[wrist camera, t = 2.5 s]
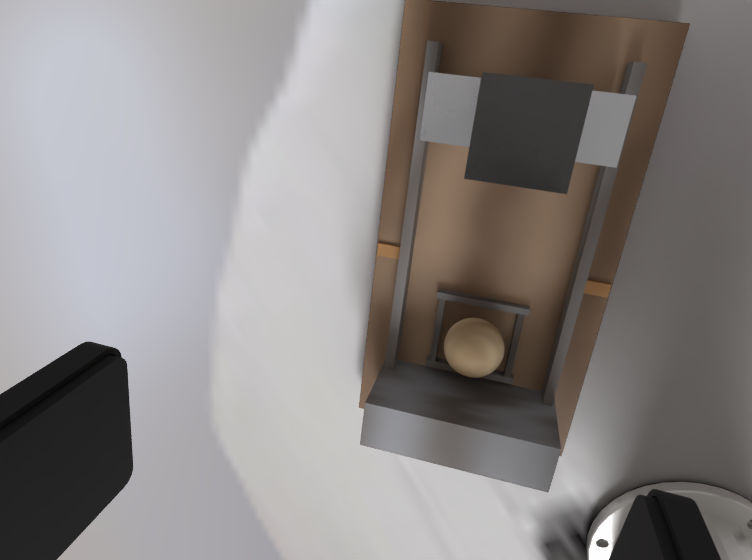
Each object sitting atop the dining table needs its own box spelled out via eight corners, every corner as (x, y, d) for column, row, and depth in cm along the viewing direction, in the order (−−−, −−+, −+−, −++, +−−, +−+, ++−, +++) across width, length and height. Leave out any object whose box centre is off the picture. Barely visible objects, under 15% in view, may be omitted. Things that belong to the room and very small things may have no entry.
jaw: (617, 92, 26) (699, 96, 15) (600, 157, 27) (663, 208, 16) (441, 71, 28) (390, 61, 16) (432, 134, 29) (379, 166, 17)
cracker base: (677, 27, 27) (734, 7, 20) (558, 437, 37) (569, 519, 30) (412, 3, 30) (381, -22, 23) (366, 392, 39) (334, 458, 32)
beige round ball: (510, 314, 32) (509, 340, 29) (498, 365, 34) (497, 395, 30) (452, 303, 33) (445, 327, 30) (443, 353, 34) (436, 381, 31)
